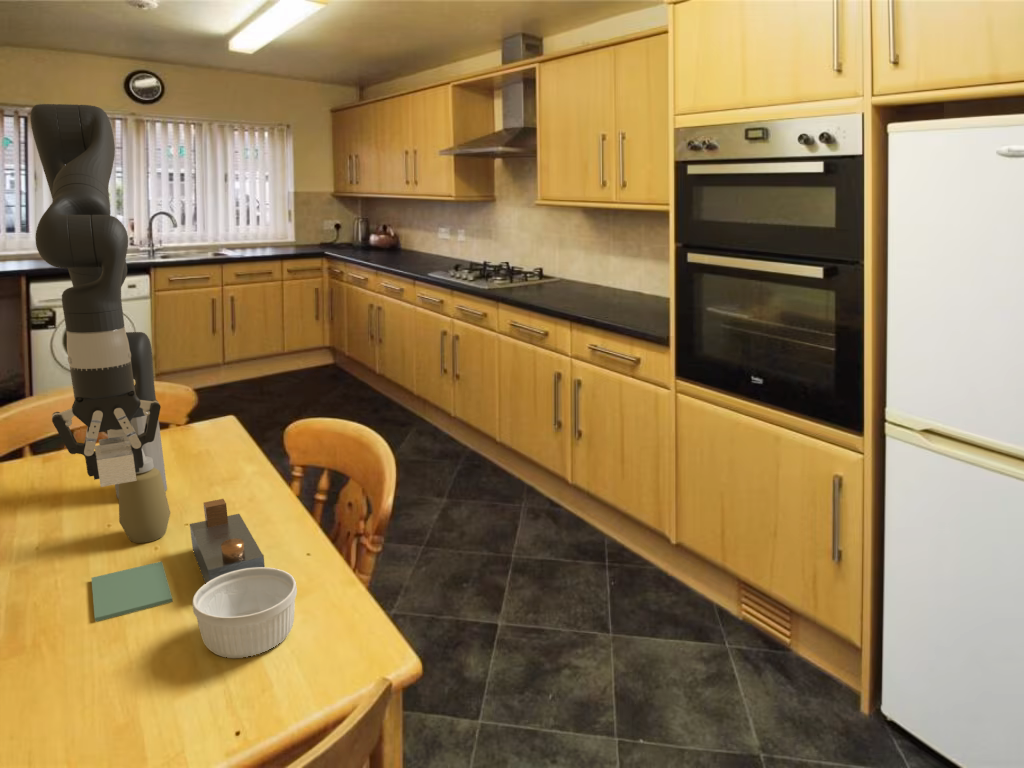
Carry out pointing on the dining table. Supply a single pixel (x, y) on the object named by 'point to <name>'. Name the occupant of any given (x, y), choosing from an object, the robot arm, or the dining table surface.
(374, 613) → the dining table surface
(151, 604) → the mat
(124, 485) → the squeeze bottle
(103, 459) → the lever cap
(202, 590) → the ramekin
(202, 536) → the plane body
